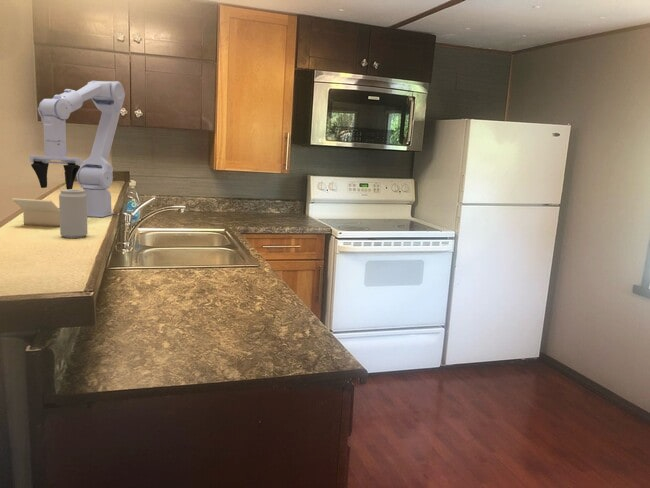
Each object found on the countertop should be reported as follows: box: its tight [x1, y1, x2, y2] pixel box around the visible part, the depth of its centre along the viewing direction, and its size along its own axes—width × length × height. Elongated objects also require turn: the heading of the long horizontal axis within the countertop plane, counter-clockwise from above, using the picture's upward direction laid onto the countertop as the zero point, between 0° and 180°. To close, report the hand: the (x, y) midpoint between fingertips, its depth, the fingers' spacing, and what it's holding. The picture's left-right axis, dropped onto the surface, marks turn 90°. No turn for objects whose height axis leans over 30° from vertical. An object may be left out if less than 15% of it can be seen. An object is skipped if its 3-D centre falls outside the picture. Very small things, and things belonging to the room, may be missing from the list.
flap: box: [12, 197, 60, 212], centre depth 150 cm, size 6×11×1 cm
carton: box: [22, 209, 60, 228], centre depth 156 cm, size 6×11×4 cm, turn 88°
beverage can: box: [58, 189, 89, 239], centre depth 140 cm, size 6×6×12 cm
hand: (56, 188), depth 160 cm, fingers open, 7 cm apart
